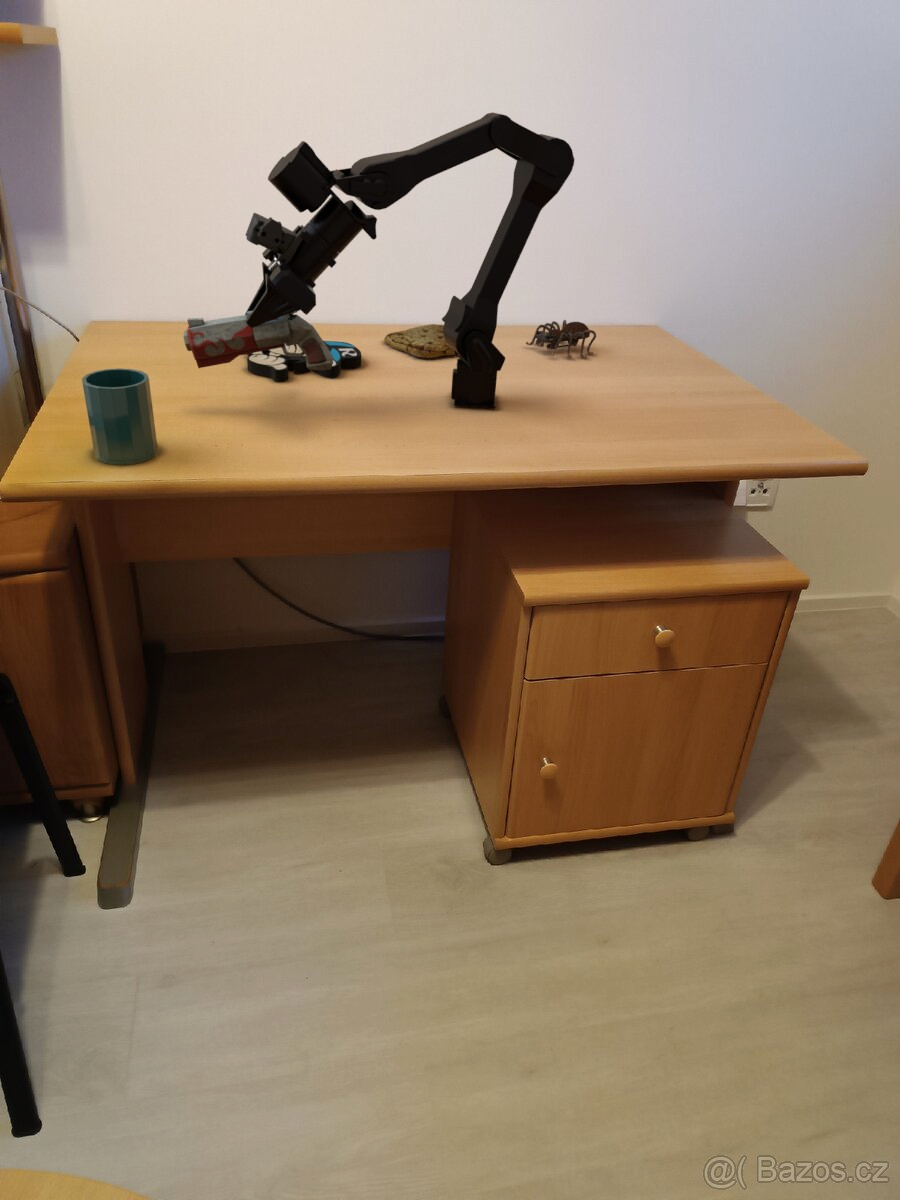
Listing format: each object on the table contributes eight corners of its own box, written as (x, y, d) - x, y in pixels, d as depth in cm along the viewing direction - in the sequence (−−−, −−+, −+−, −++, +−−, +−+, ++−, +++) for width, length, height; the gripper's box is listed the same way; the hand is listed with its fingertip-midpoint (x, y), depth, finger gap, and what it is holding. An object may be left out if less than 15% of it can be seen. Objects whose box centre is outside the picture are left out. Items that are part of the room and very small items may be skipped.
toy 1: (163, 367, 145) (337, 389, 141) (161, 355, 144) (337, 377, 140) (232, 325, 168) (383, 343, 164) (231, 315, 167) (383, 332, 163)
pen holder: (165, 443, 118) (156, 370, 113) (147, 466, 112) (137, 390, 106) (106, 440, 118) (95, 366, 113) (85, 463, 112) (72, 386, 106)
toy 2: (517, 345, 169) (519, 318, 166) (564, 338, 174) (567, 313, 172) (557, 363, 160) (561, 335, 157) (606, 355, 166) (610, 329, 163)
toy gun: (203, 383, 130) (182, 316, 124) (335, 361, 130) (320, 293, 124) (198, 394, 126) (177, 325, 121) (334, 371, 126) (319, 301, 121)
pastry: (480, 339, 171) (482, 323, 169) (469, 365, 156) (470, 348, 154) (393, 330, 172) (393, 314, 171) (374, 355, 158) (374, 338, 156)
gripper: (274, 182, 123) (201, 265, 127) (285, 203, 108) (202, 296, 111) (331, 241, 129) (260, 319, 133) (350, 269, 114) (269, 356, 117)
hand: (248, 321), depth 123 cm, fingers closed on toy gun, 3 cm apart
